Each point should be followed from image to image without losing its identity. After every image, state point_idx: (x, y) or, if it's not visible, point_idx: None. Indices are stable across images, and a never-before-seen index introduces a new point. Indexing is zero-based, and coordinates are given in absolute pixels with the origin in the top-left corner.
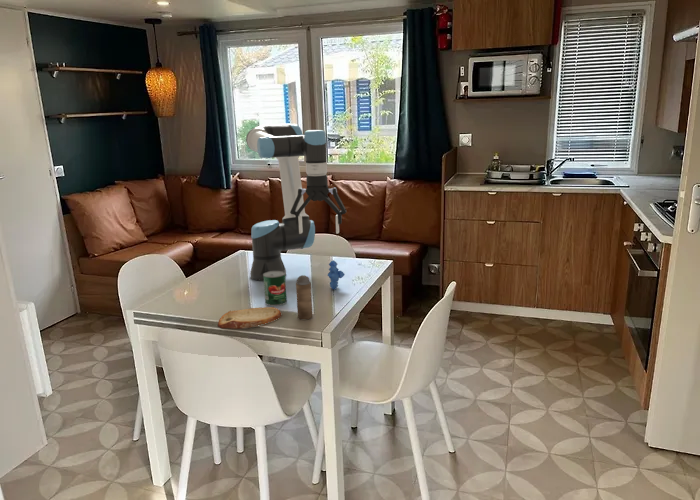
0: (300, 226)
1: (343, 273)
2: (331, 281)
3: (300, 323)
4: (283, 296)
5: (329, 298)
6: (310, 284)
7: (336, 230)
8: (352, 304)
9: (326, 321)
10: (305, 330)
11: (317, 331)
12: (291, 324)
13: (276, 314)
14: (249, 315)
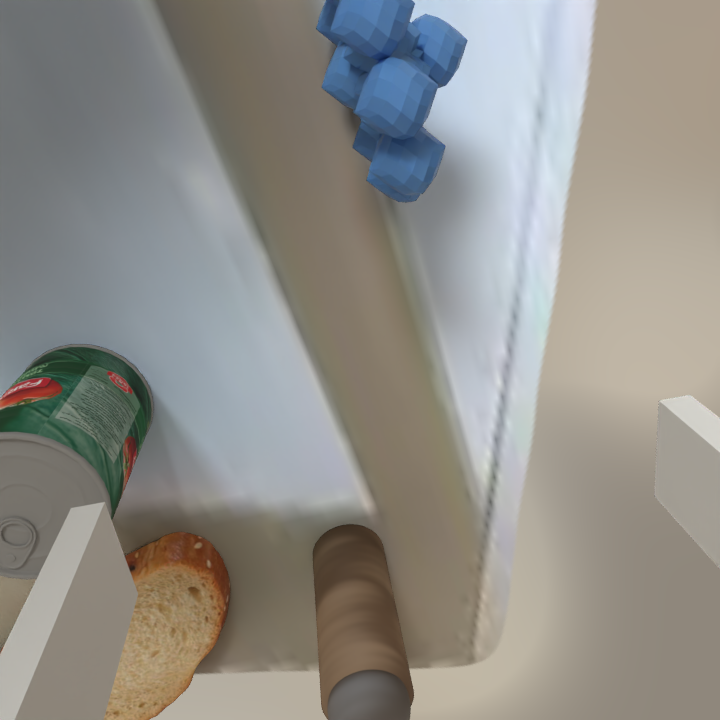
0: (106, 690)
1: (462, 54)
2: (373, 153)
3: None
4: (141, 443)
5: (384, 273)
6: (412, 690)
7: (688, 525)
8: (543, 344)
9: (462, 573)
10: None
11: (453, 664)
12: None
13: (218, 613)
14: None
